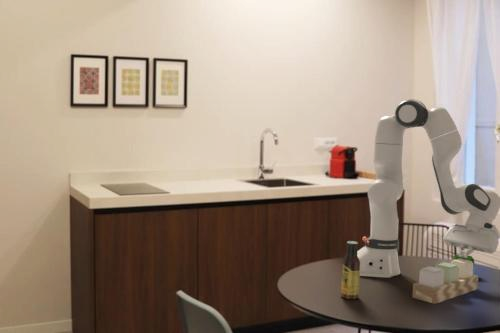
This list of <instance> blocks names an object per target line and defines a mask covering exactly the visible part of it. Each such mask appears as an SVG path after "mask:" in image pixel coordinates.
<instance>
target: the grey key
mask: <svg viewBox="0 0 500 333" xmlns="http://www.w3.org/2000/svg"><path fill="white" fill-rule="evenodd" d="M418 280H419V281H418V282H419V284H420V285H424V286H427V287H431V288H437V287H440V286H443V284H444V271H443V269H439V268H435V267H433V266H426V267H423V268H422V267H421V269H420V270H419V279H418Z"/></svg>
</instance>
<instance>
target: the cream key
mask: <svg viewBox="0 0 500 333" xmlns="http://www.w3.org/2000/svg"><path fill="white" fill-rule="evenodd" d="M449 263H450V264H455V265H458V267H459V278H463V279H466V278H469V277H472V276H473V275H474V268H473V263H472V261H469V260H464V259H455V260H453V259H452V260H451V261H450V262H449Z"/></svg>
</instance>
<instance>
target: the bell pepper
mask: <svg viewBox="0 0 500 333" xmlns="http://www.w3.org/2000/svg"><path fill="white" fill-rule="evenodd" d="M455 259H464V260H469V261H472V263H473V269H474V267H475V259H474V258H473V255H472V256H471V255H468V257H467V258H463V257H459V256H458V254H454V256H453V259H452V260H455Z"/></svg>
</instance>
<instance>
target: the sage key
mask: <svg viewBox="0 0 500 333" xmlns="http://www.w3.org/2000/svg"><path fill="white" fill-rule="evenodd" d="M434 268H439V269H443V271H444V282H446V283H453V282H456V281H458V280H459V267H458V265H455V264H450V262H441V263H437V264H436V265H435V267H434Z"/></svg>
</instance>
